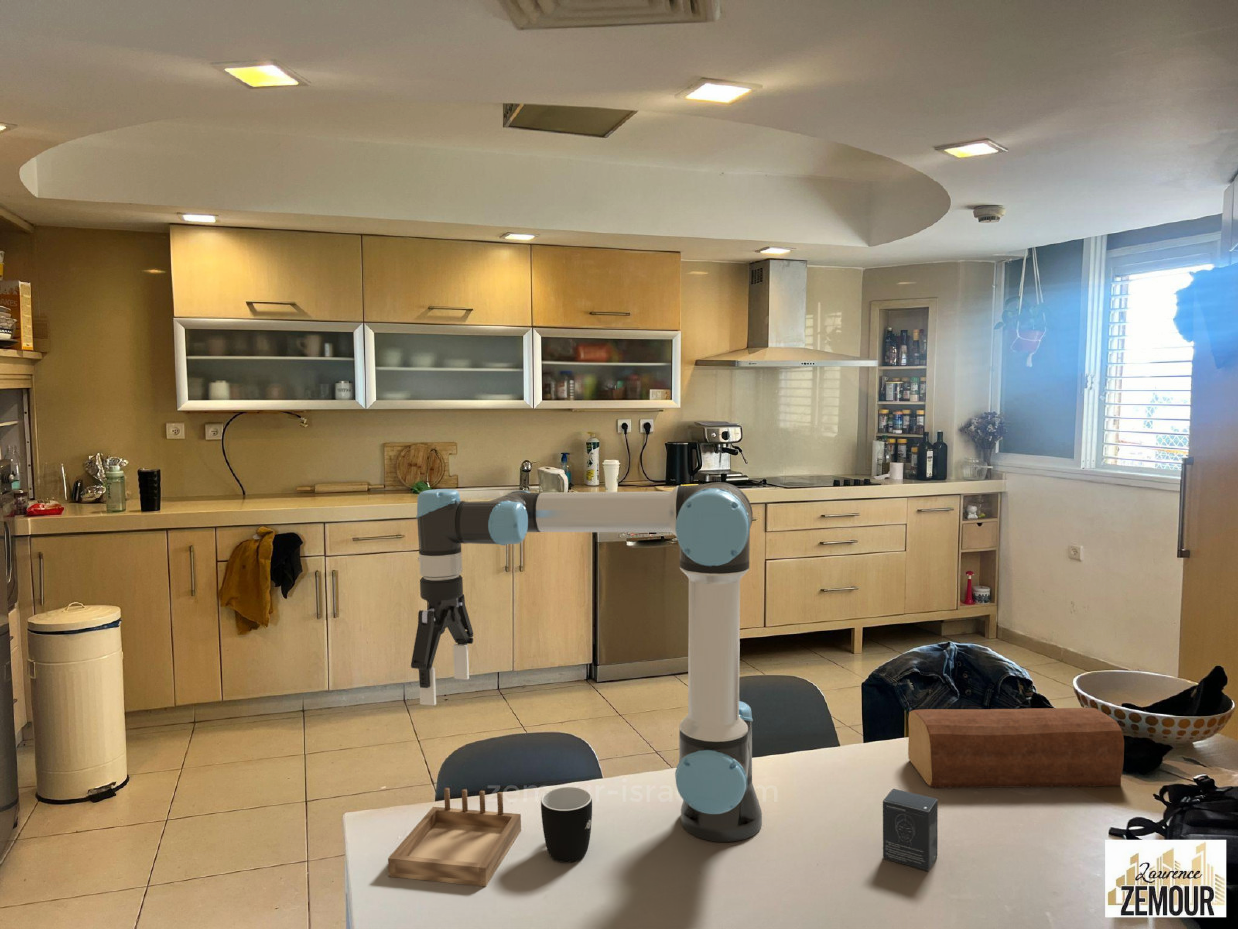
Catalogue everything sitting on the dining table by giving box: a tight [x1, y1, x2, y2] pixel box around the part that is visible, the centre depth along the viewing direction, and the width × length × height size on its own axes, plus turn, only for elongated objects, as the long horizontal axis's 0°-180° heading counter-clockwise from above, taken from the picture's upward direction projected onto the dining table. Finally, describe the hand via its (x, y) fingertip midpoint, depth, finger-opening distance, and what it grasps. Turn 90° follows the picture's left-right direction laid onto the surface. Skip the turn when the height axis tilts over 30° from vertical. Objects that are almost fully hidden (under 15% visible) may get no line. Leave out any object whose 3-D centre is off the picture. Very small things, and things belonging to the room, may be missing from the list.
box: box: [882, 788, 939, 872], centre depth 148 cm, size 8×6×11 cm
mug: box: [540, 786, 593, 864], centre depth 153 cm, size 12×9×10 cm
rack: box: [387, 787, 522, 887], centre depth 153 cm, size 17×18×7 cm
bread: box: [907, 707, 1125, 789], centre depth 179 cm, size 16×39×13 cm, turn 89°
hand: (445, 691), depth 156 cm, fingers open, 13 cm apart
